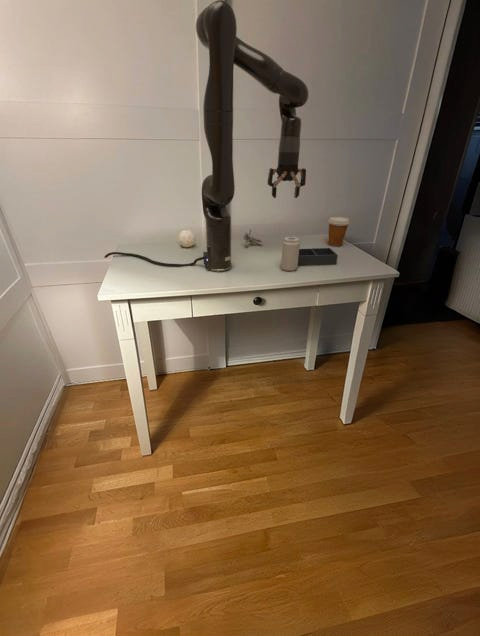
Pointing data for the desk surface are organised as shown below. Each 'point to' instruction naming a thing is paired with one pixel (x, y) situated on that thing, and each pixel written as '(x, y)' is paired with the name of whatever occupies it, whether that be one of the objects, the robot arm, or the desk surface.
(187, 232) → the geometric ball
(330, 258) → the divided tray
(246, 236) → the elephant figurine
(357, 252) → the desk surface
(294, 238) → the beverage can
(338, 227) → the disposable coffee cup
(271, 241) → the desk surface
